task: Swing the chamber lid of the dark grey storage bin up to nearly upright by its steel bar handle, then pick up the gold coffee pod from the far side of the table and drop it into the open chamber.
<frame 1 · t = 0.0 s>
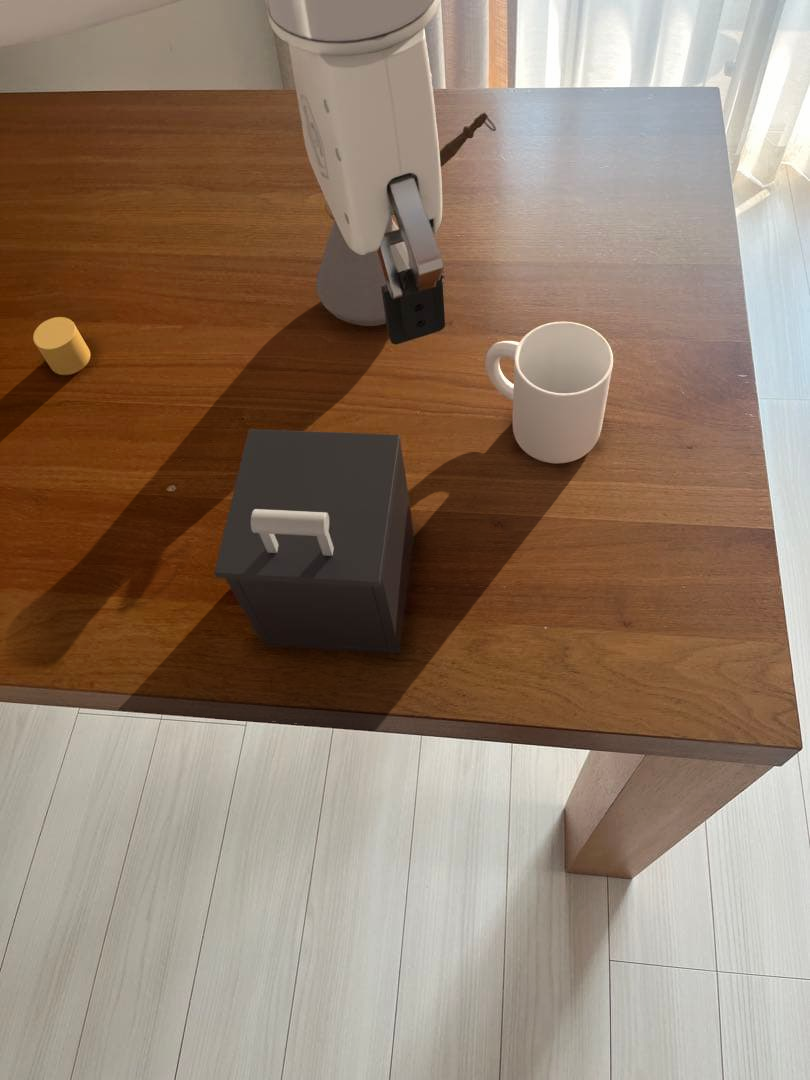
hand: (389, 276, 52), 31 cm above the table, tool pointing down, fingers open, 9 cm apart
mug: (539, 423, 85), on the table
dark grey storage bin: (340, 587, 77), on the table
chamber lid: (305, 487, 63), point 17 cm above the table, hinge at 0.0°
coffee pot: (411, 279, 96), on the table
coffee pod: (70, 359, 94), on the table
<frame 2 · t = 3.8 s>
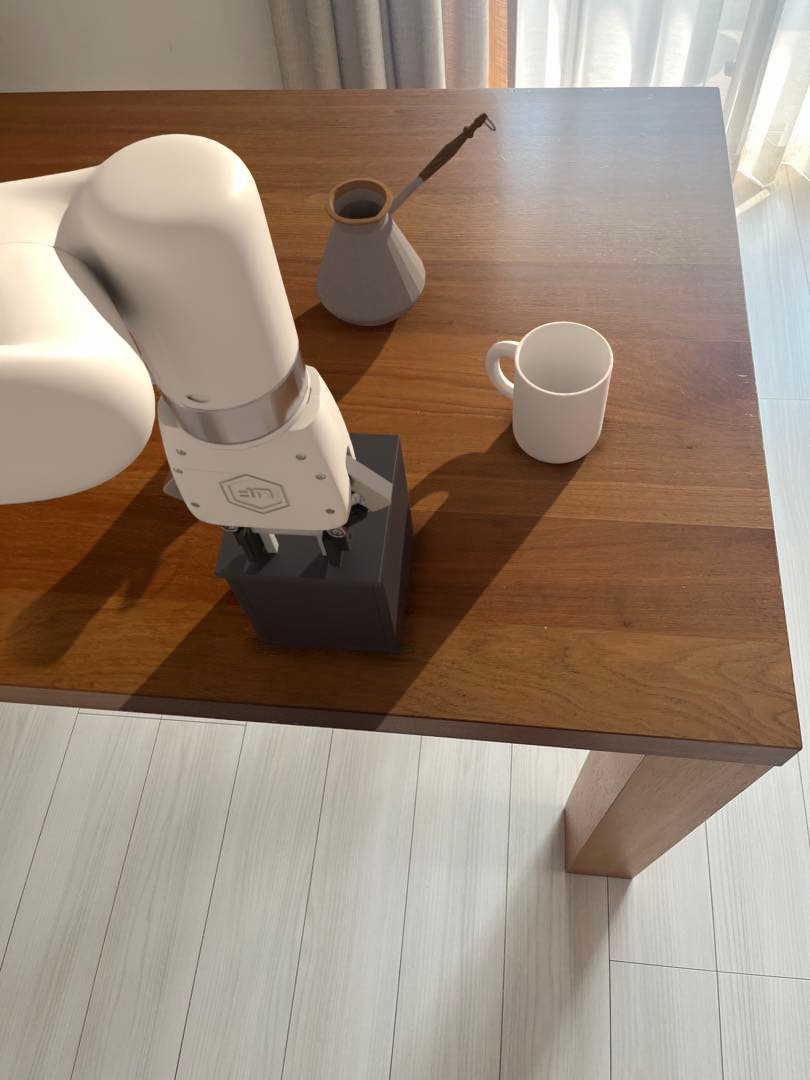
hand: (298, 545, 62), 16 cm above the table, tool pointing down, fingers closed on chamber lid, 5 cm apart
chamber lid: (305, 487, 63), point 17 cm above the table, hinge at 0.0°, touching gripper
everything else where it was.
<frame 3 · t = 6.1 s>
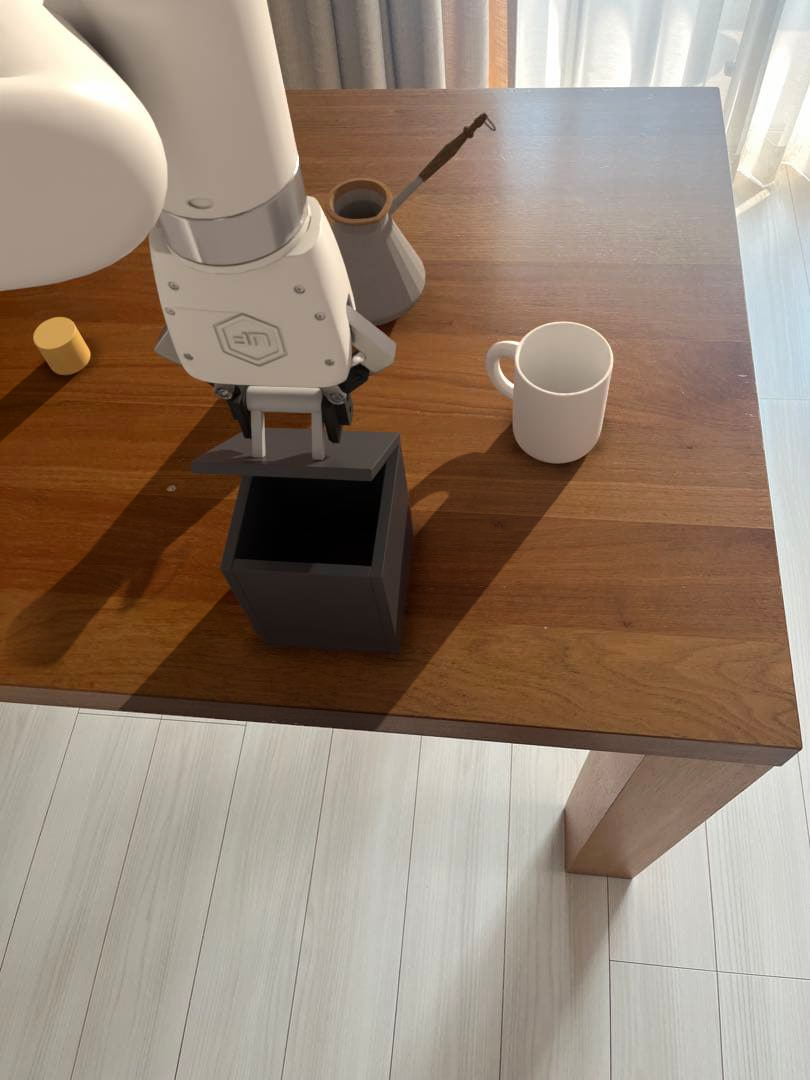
hand: (296, 422, 59), 22 cm above the table, tool pointing down, fingers closed on chamber lid, 5 cm apart
chamber lid: (303, 418, 61), point 20 cm above the table, hinge at 43.0°, touching gripper
everything else where it was.
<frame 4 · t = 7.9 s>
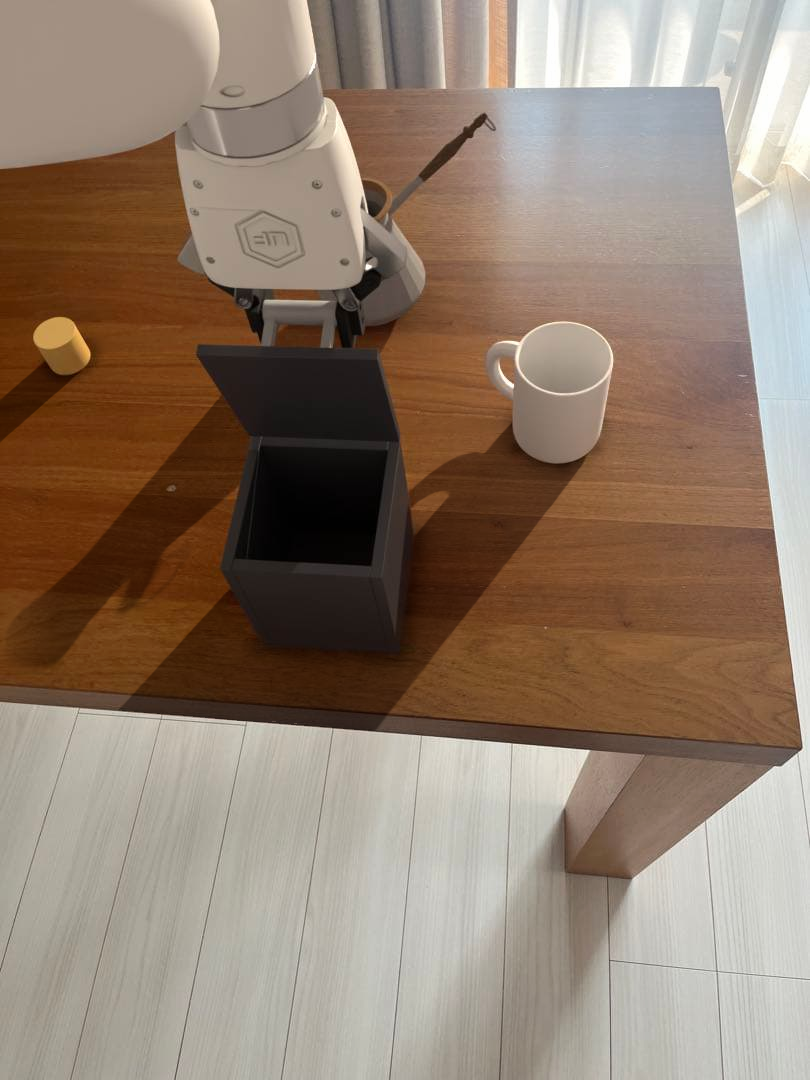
hand: (311, 335, 62), 22 cm above the table, tool pointing down, fingers closed on chamber lid, 5 cm apart
chamber lid: (310, 367, 63), point 21 cm above the table, hinge at 77.9°, touching gripper
everything else where it was.
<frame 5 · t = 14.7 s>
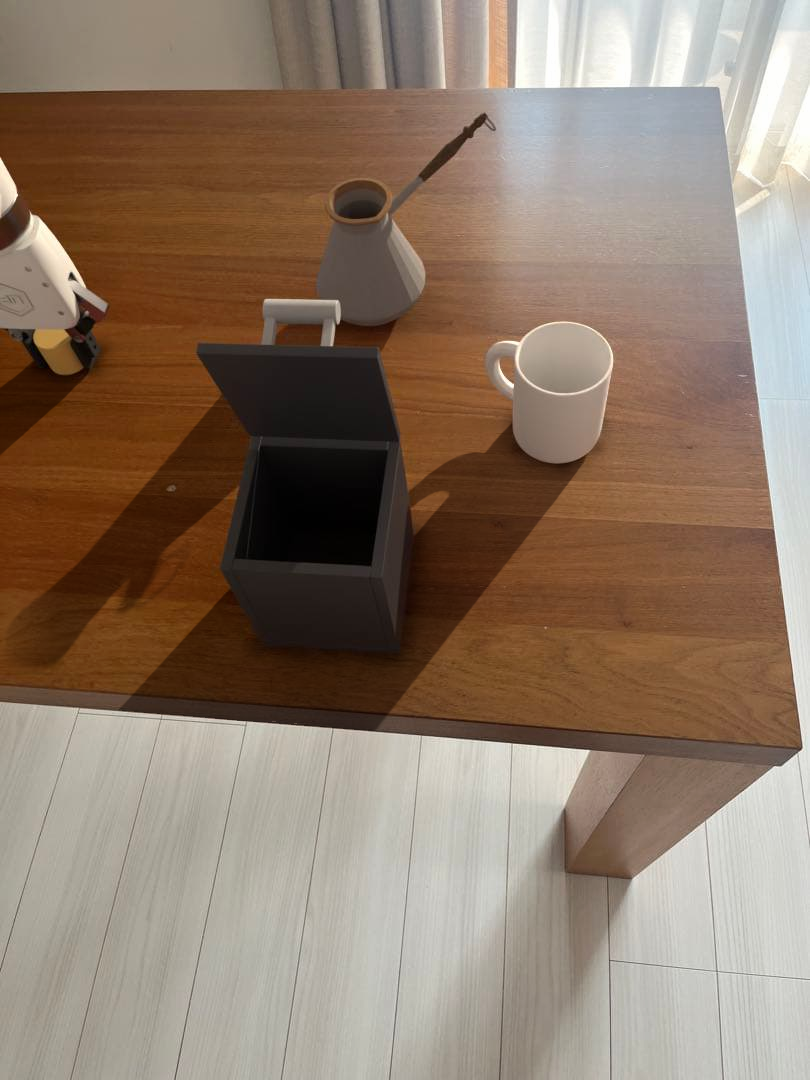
hand: (68, 356, 93), 0 cm above the table, tool pointing down, fingers closed on coffee pod, 4 cm apart
chamber lid: (310, 367, 63), point 21 cm above the table, hinge at 78.4°
coffee pod: (70, 359, 94), on the table, touching gripper
everything else where it was.
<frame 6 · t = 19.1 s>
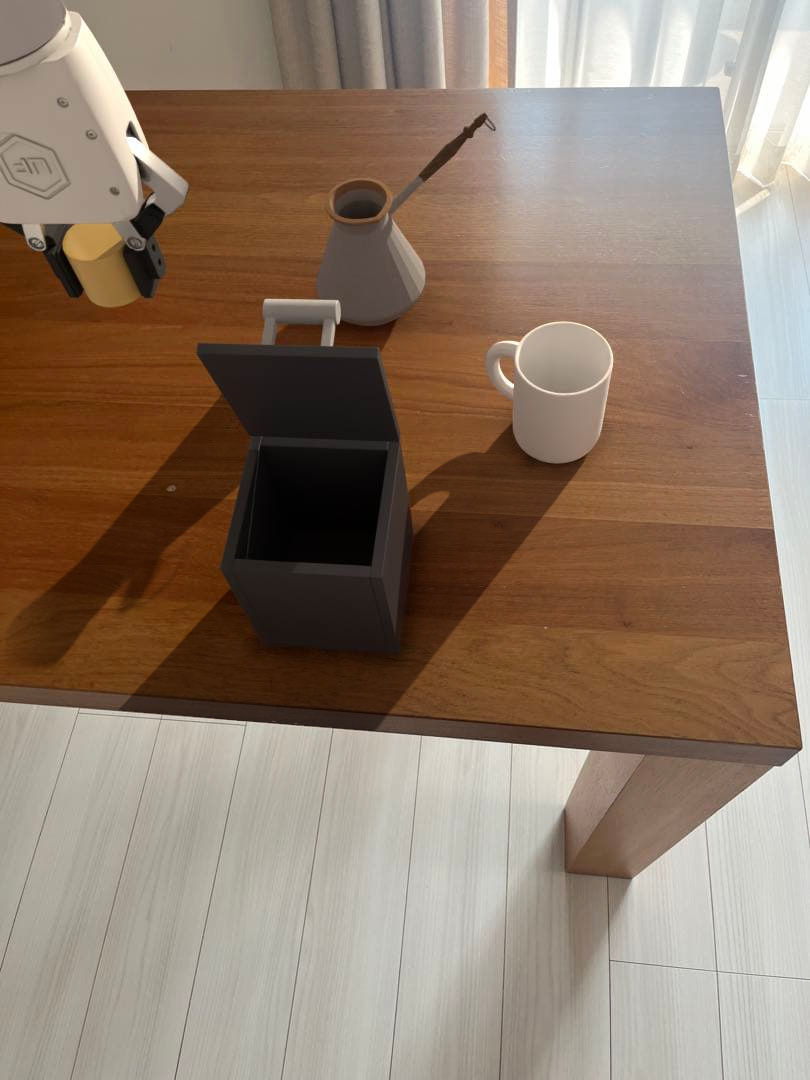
hand: (116, 281, 60), 27 cm above the table, tool pointing down, fingers closed on coffee pod, 4 cm apart
coffee pod: (118, 284, 60), point 27 cm above the table, touching gripper
everything else where it was.
when the fingers open (13 cm above the table, at t = 23.7 s): coffee pod drops 12 cm, resting on dark grey storage bin.
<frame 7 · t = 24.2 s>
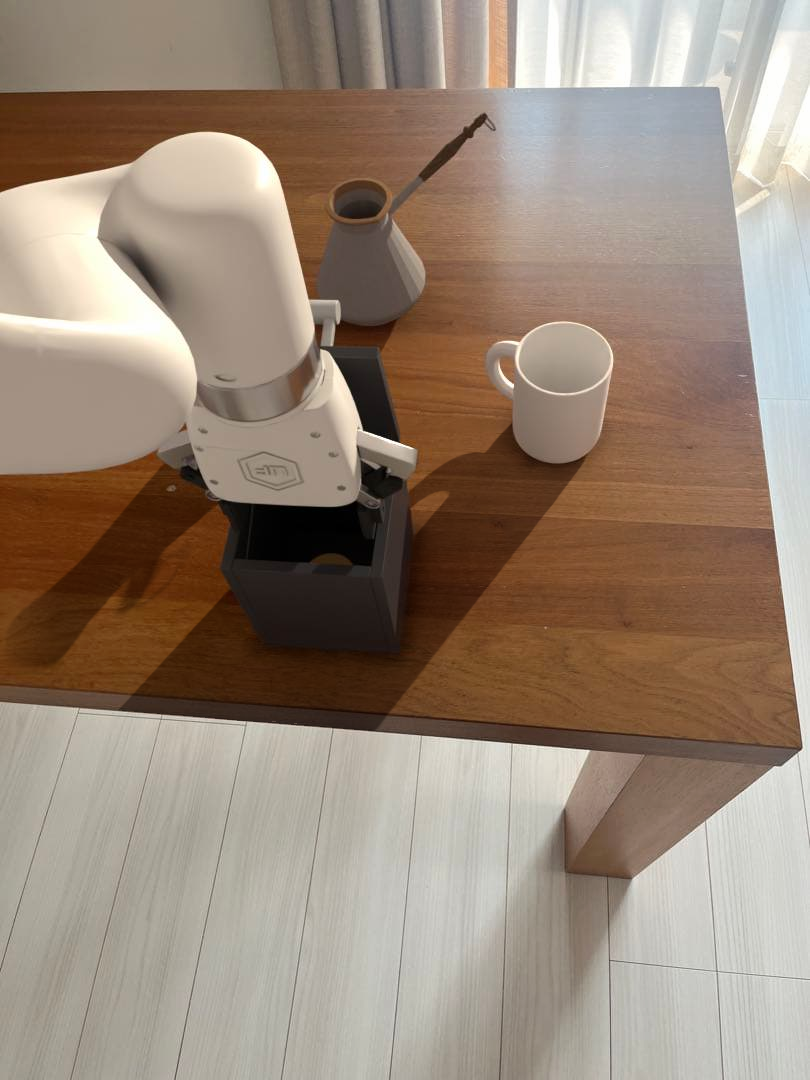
hand: (307, 518, 64), 14 cm above the table, tool pointing down, fingers open, 9 cm apart
coffee pod: (336, 597, 76), point 1 cm above the table, touching dark grey storage bin
everything else where it was.
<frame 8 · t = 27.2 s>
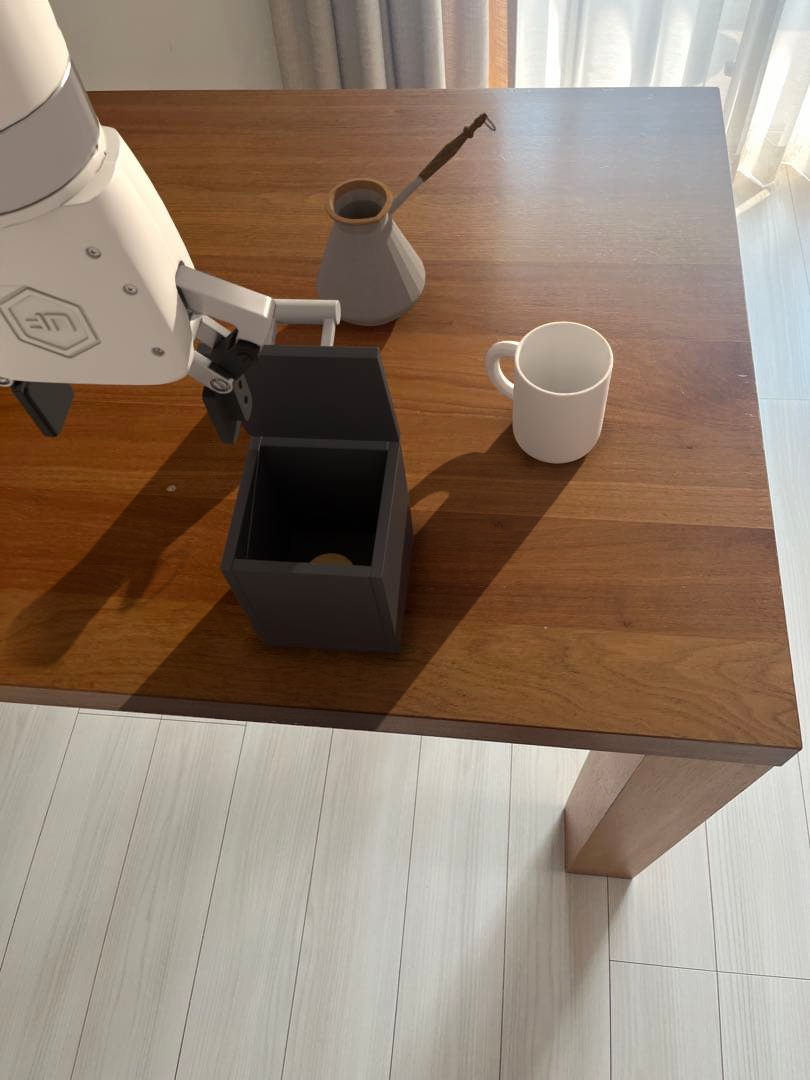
hand: (147, 418, 47), 32 cm above the table, tool pointing down, fingers open, 9 cm apart
nothing on the table moved.
at the end: chamber lid at +78° (first picture: +0°); coffee pod inside the target area in the dark grey storage bin (1.4 cm from its centre), point 0.9 cm above the dark grey storage bin's base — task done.
